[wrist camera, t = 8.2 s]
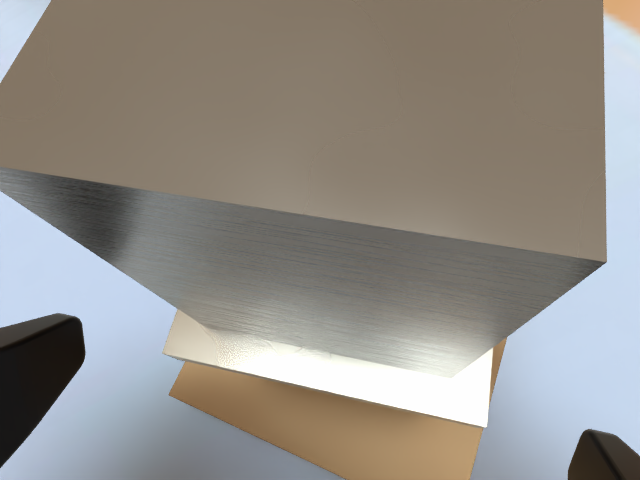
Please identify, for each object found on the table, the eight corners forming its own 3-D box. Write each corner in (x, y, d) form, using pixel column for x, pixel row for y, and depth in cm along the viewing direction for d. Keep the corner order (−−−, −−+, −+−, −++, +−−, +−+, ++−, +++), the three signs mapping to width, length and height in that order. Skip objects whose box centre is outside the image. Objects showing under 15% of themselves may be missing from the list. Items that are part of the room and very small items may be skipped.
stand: (445, 519, 15) (455, 531, 13) (189, 399, 17) (168, 395, 16) (517, 256, 18) (533, 236, 17) (293, 185, 21) (286, 161, 19)
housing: (437, 432, 14) (745, 400, 2) (246, 387, 16) (-163, 221, 4) (459, 247, 17) (669, -220, 5) (291, 220, 18) (133, -209, 6)
